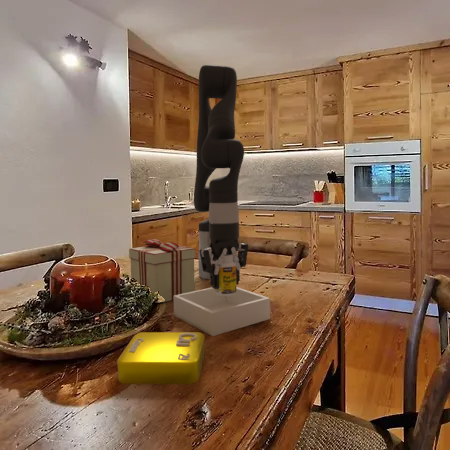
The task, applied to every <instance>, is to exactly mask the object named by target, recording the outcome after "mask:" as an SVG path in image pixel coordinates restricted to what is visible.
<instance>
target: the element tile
mask: <svg viewBox="0 0 450 450" xmlns="http://www.w3.org/2000/svg"><path fill="white" fill-rule="evenodd" d="M205 341H206V340H205V335H204V334H203V333H202V332H199V331H198V332H196V331H193V332H190V331H189V332H187V331H185V332H184V331H183V332H182V331H178V332H175V331H174V332H173V331H171V332H166V331H164V332H163V331H162V332H160V331H159V332H157V331H151V332H145V331H143V332H141V331H140V332H137V333H136V334H135V335H134V336H133V337H132V338H131V340H130V341H129V343H128V344H127V346H126V347H125V348H124V349H123V352H121V354H120V356H119V357H118V358H117V361H116V363H117V379H118V382H119V383H120V384H122V385H123V384H124V385H192V384H196V383H197V382H199V379H200V377H201V372H202V369H203V368H202V367H203V363H204V359H205V356H206V355H205V354H206V348H205V345H206V343H205Z"/></svg>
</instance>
